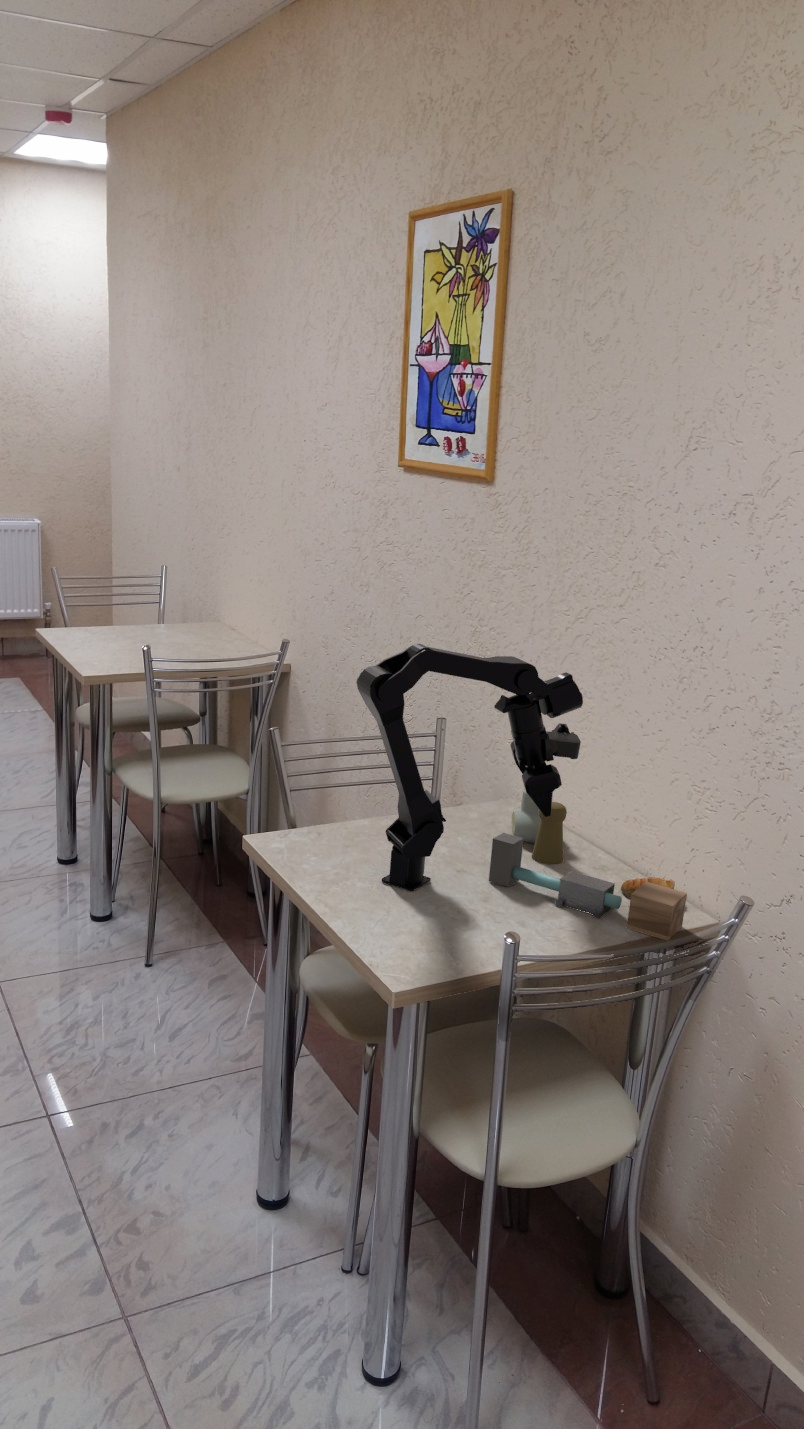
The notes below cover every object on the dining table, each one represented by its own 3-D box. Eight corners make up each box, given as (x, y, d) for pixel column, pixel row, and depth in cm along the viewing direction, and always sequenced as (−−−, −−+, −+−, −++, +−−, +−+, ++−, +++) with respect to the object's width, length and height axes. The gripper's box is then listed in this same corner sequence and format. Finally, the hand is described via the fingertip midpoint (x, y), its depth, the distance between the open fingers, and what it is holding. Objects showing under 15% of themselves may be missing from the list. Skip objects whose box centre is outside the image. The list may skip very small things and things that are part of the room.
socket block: (667, 940, 177) (672, 906, 176) (626, 928, 181) (631, 894, 180) (682, 926, 183) (687, 893, 182) (641, 914, 187) (646, 881, 185)
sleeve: (598, 918, 184) (602, 893, 183) (555, 905, 188) (558, 880, 187) (613, 906, 189) (616, 881, 188) (570, 894, 193) (573, 869, 192)
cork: (553, 867, 205) (559, 811, 202) (525, 858, 208) (531, 802, 206) (569, 859, 210) (575, 804, 207) (541, 850, 213) (547, 796, 211)
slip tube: (613, 918, 184) (618, 874, 182) (488, 881, 196) (492, 838, 194) (622, 911, 187) (627, 867, 185) (499, 874, 199) (503, 832, 197)
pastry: (619, 901, 192) (622, 880, 192) (620, 886, 199) (622, 866, 198) (674, 909, 191) (677, 888, 190) (673, 894, 197) (676, 874, 196)
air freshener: (556, 850, 214) (562, 801, 212) (514, 847, 214) (519, 797, 212) (550, 830, 225) (555, 783, 222) (509, 827, 225) (514, 780, 222)
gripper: (582, 735, 185) (598, 817, 190) (562, 698, 202) (577, 774, 208) (517, 750, 185) (534, 832, 191) (503, 712, 203) (519, 787, 208)
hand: (543, 805), depth 199 cm, fingers open, 9 cm apart
